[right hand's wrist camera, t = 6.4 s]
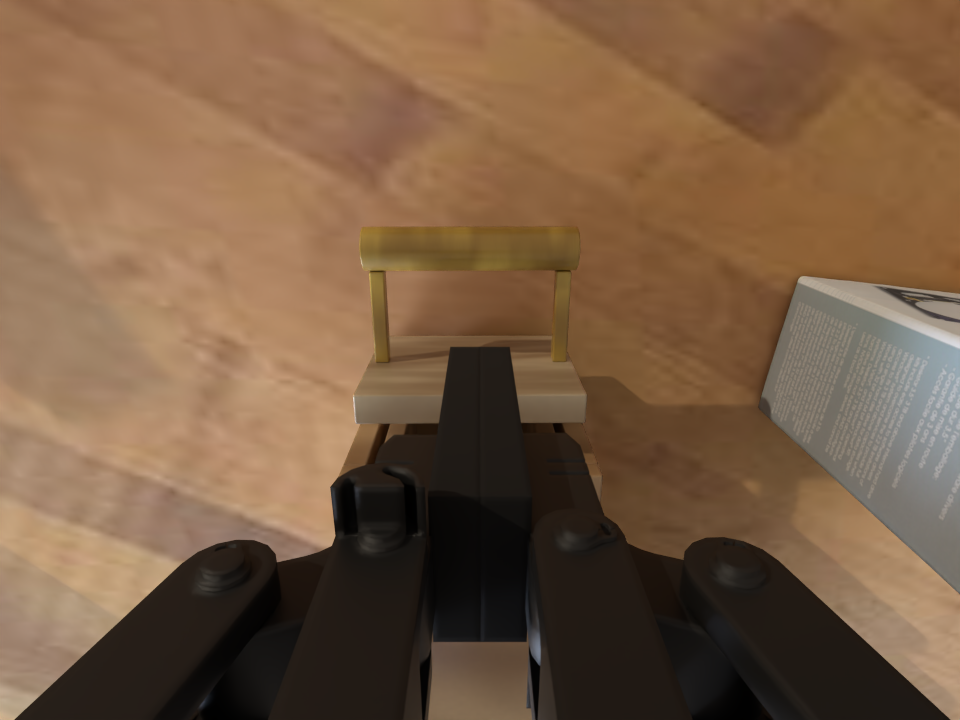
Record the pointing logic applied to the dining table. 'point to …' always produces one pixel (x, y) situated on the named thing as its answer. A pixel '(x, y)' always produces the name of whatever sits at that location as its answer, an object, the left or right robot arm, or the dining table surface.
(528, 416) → the drawer
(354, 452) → the cabinet
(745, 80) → the dining table surface
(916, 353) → the hard drive box
